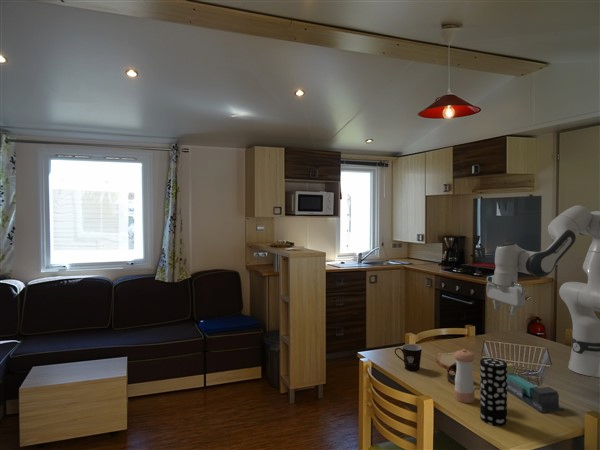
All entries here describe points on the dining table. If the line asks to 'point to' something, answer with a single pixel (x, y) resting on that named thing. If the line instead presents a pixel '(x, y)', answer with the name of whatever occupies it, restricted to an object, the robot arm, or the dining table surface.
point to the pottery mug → (450, 376)
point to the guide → (537, 397)
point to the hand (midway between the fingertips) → (504, 312)
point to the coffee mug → (411, 356)
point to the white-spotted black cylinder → (493, 391)
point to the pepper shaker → (464, 377)
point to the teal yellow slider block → (519, 380)
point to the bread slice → (445, 359)
